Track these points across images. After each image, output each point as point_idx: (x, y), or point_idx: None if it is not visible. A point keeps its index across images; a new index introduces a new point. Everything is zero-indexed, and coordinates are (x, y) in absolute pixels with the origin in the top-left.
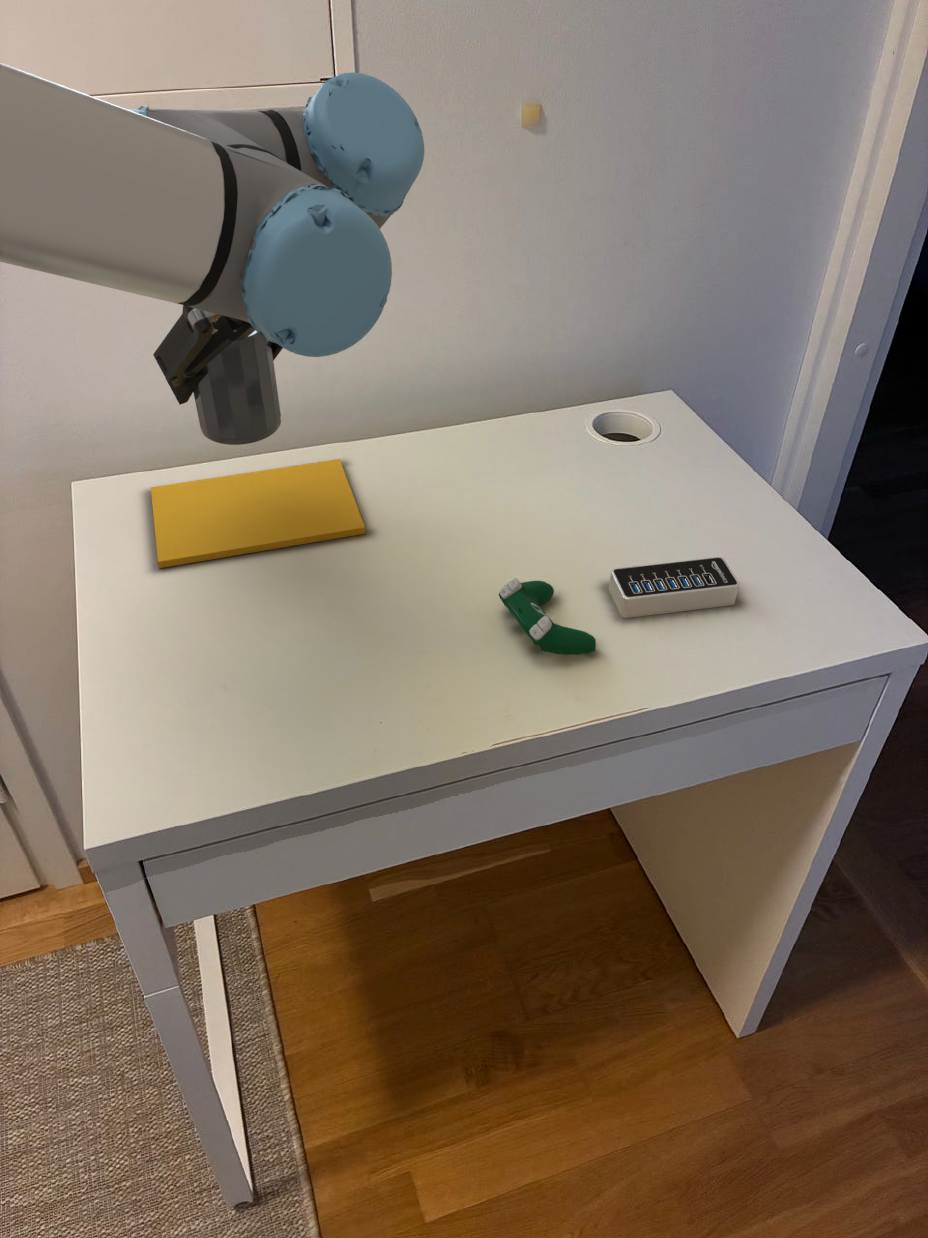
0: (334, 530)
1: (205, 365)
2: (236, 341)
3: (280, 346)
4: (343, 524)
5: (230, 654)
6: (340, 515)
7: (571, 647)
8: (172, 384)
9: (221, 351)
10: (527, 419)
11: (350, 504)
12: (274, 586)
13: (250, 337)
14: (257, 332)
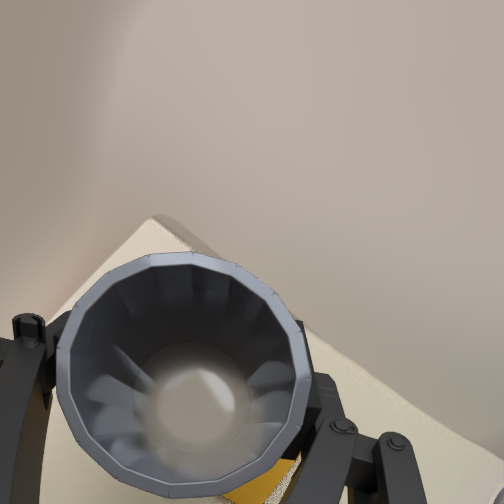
0: (226, 494)
1: (47, 424)
2: (113, 477)
3: (285, 458)
4: (241, 495)
5: (41, 500)
6: (252, 481)
7: None
8: None
9: (39, 481)
10: (483, 457)
11: (275, 476)
12: (124, 490)
13: (159, 495)
14: (192, 497)
